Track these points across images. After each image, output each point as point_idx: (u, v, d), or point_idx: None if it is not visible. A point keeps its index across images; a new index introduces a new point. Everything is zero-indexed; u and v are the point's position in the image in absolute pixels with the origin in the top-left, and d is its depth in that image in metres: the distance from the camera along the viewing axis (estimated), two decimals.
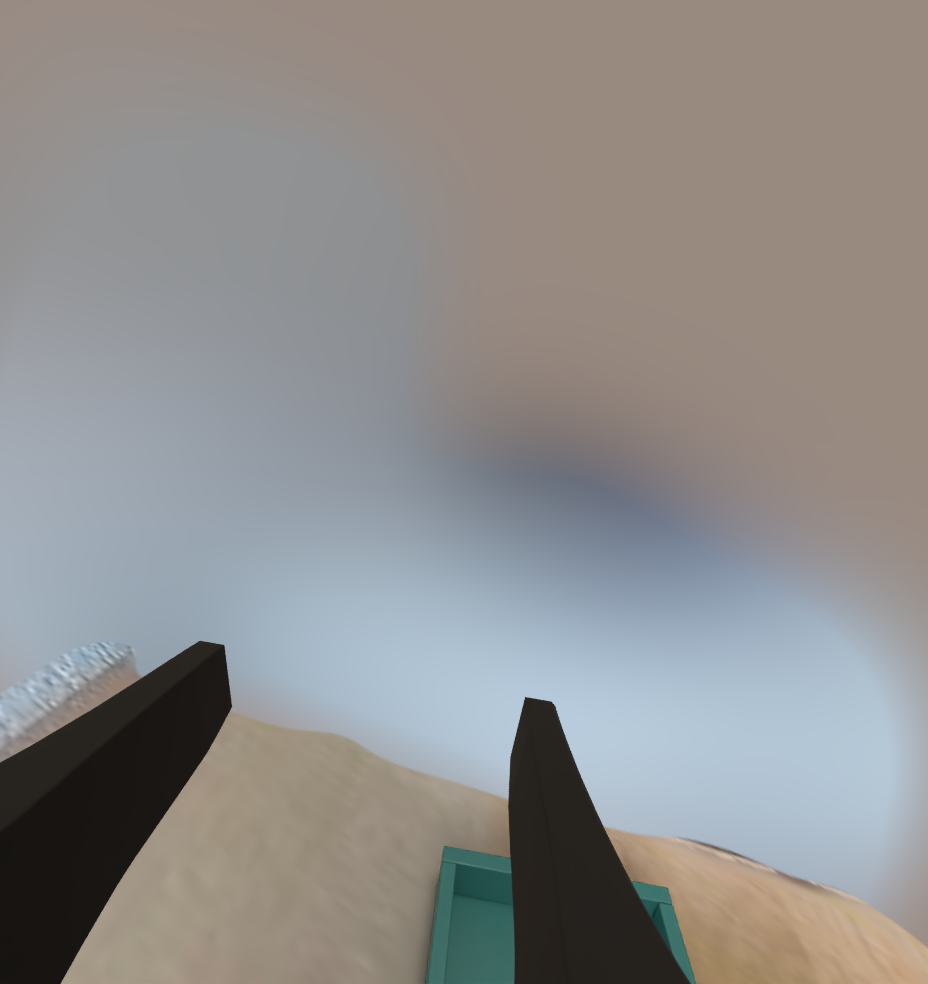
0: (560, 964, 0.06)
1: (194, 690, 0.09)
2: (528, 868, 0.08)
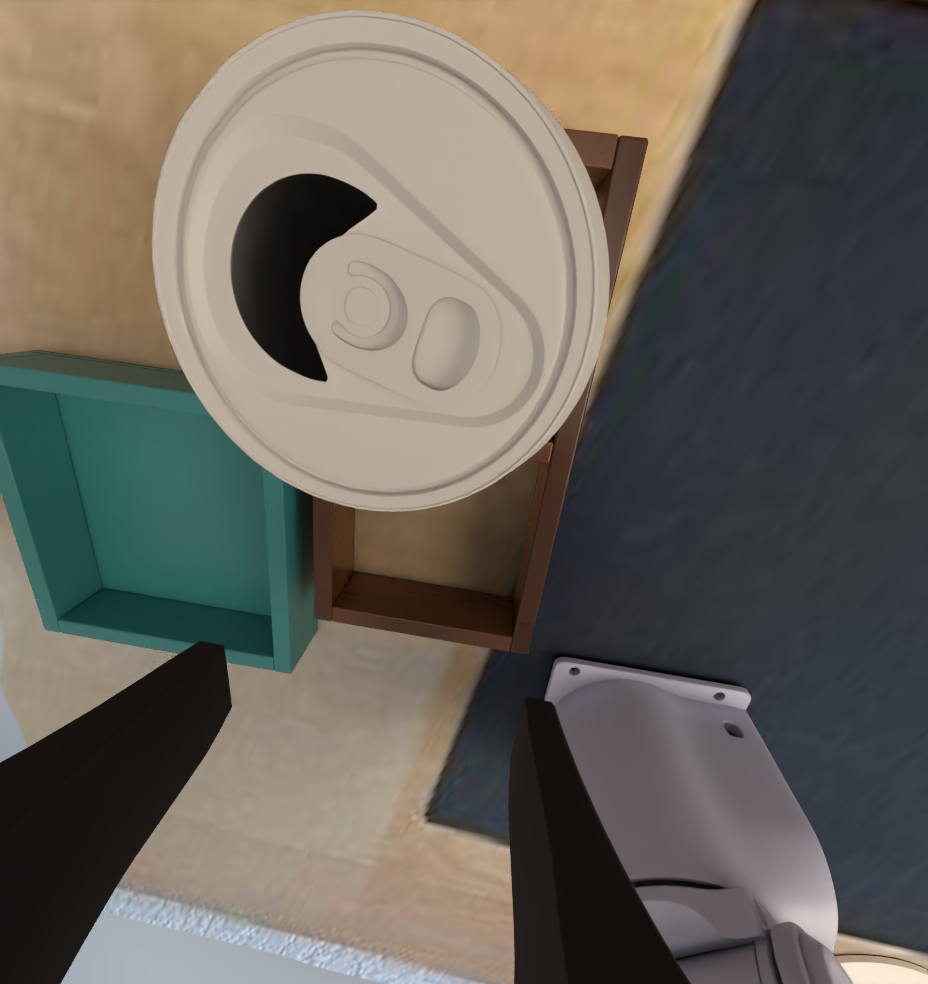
0: (560, 964, 0.06)
1: (194, 690, 0.09)
2: (528, 868, 0.08)
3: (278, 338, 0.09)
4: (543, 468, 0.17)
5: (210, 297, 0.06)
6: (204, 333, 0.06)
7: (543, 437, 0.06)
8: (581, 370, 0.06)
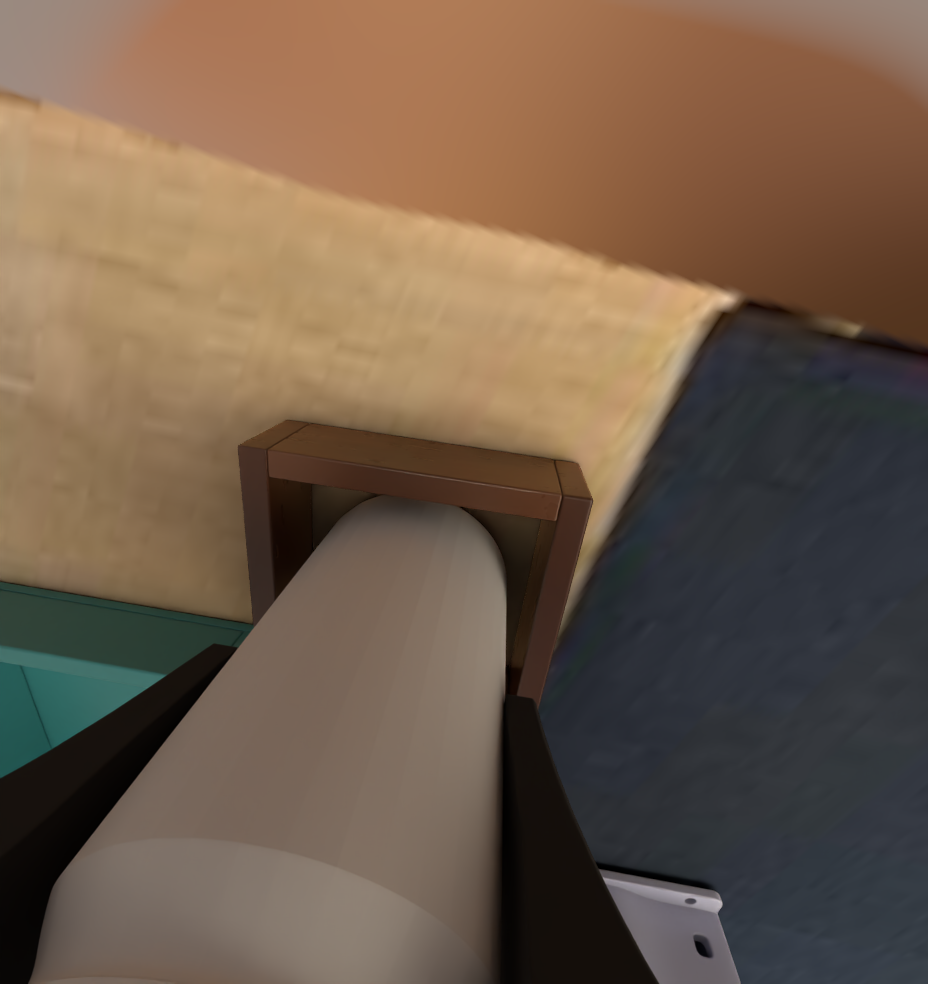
0: (525, 957, 0.06)
1: None
2: (504, 864, 0.08)
3: None
4: None
5: None
6: None
7: None
8: None
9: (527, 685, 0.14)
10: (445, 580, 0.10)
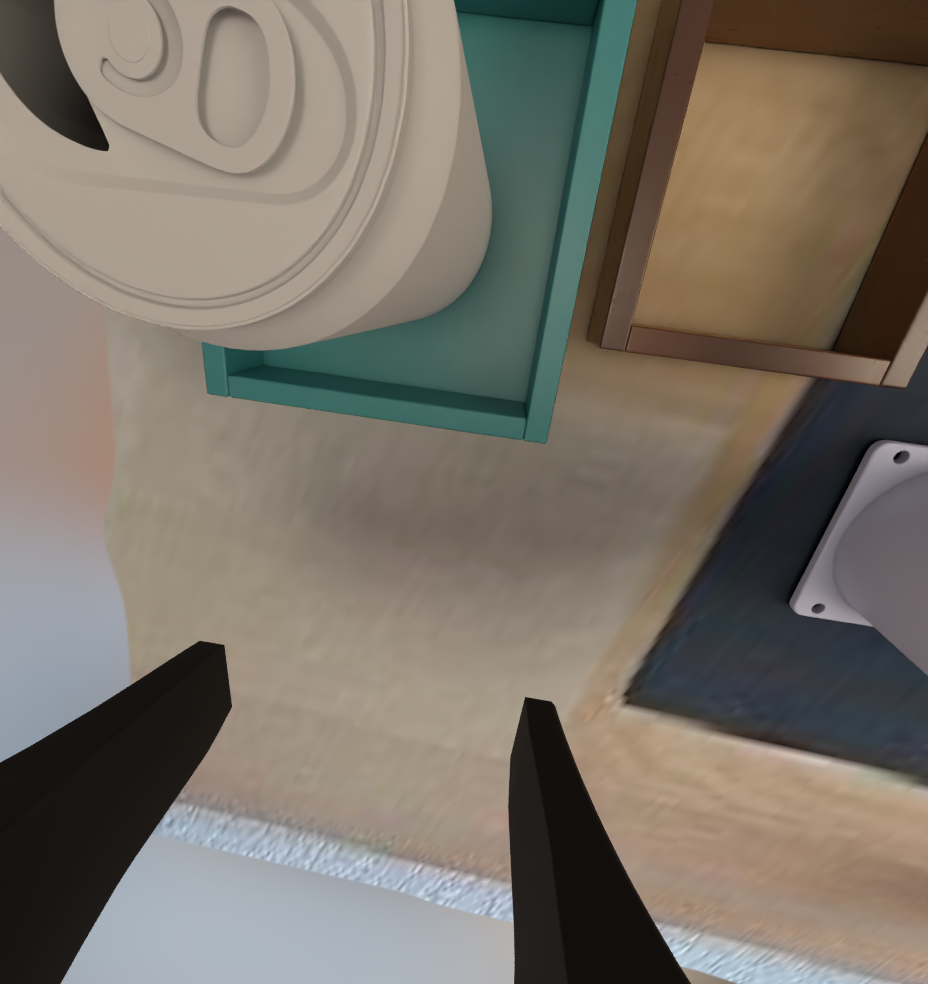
0: (560, 964, 0.06)
1: (194, 690, 0.09)
2: (528, 868, 0.08)
3: None
4: None
5: None
6: None
7: (368, 213, 0.05)
8: (404, 120, 0.05)
9: None
10: None
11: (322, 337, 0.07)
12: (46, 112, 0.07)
